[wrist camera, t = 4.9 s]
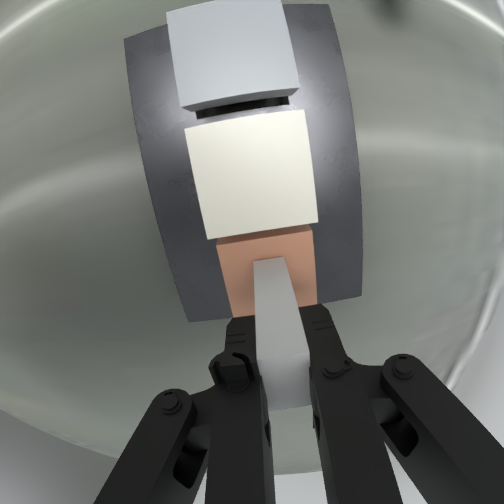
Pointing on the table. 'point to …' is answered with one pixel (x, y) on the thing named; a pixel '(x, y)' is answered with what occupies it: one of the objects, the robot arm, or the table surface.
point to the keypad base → (306, 97)
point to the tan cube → (266, 247)
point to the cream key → (253, 173)
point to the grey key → (231, 53)
